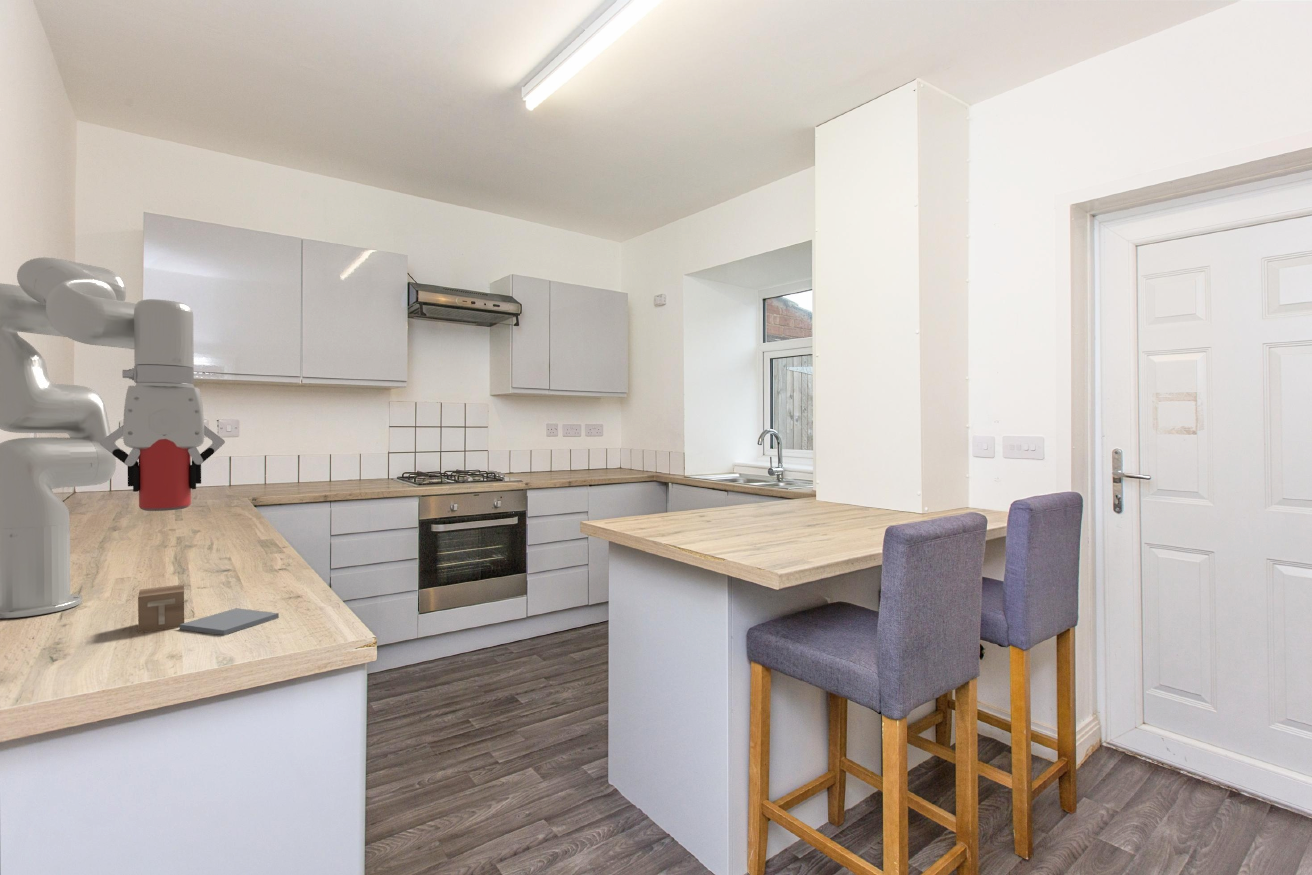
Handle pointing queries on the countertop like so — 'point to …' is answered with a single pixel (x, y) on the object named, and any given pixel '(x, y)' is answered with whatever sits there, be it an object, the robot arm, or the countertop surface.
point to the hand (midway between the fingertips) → (165, 488)
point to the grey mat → (229, 621)
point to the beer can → (164, 477)
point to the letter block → (160, 608)
